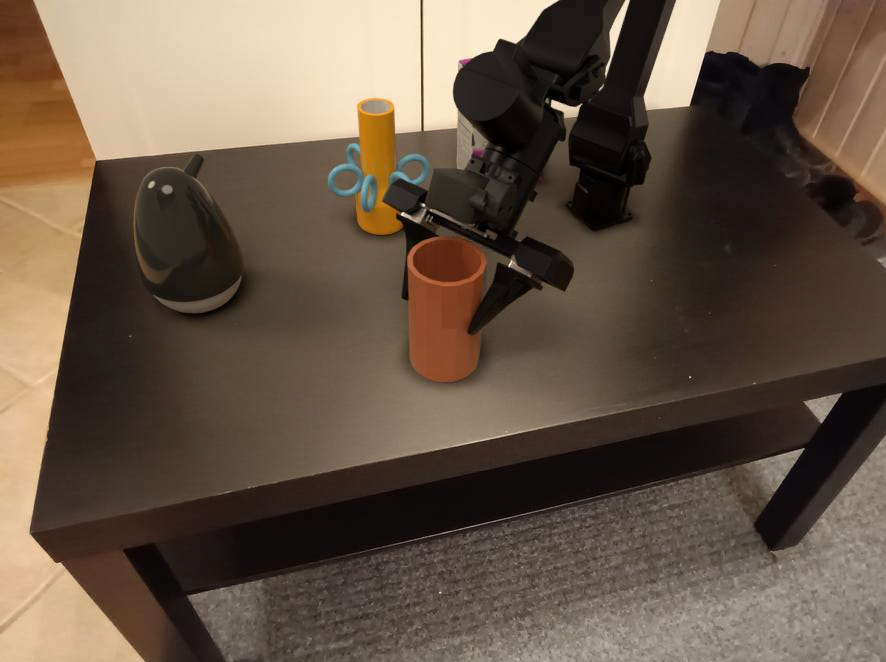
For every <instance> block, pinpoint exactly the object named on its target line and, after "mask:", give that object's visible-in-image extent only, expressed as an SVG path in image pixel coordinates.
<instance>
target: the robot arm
mask: <svg viewBox="0 0 886 662" xmlns="http://www.w3.org/2000/svg"><path fill="white" fill-rule="evenodd" d="M625 2H626V0H556V1H555V2H554V3H552V4H550V5H549V6H547V7H545V8H544V9H542V10H541V12H540V14H539V15H538V16H537V18H536V20H535V21H534V23H533V24H532V25H531V27H530V29H529V30H528V32H527V33H526V34H525V36H523V37H522V38H521V39H519V41H517V42H516V43H515V42H512V41H510V40H506V39H503V38H501V37H500V38H498V39H497V42H496V44H495V46H494V48H493V50H490V51H486V52H481V53H479V54H478V55H475V56H474V57H471V58H472V59H471V60H470V61H469V62H467V64H466V65H465V66H464V67H463V68H461V69H460V70H459V71H458V70H457V73H456V75H455V78H454V81H453V86H452V98H453V102H454V104H455V107H456V109H457V111H458V110H459V111H460V113H461V114H462V115H463V116H464V117H465V118H466V119H467V120H468V121H469V122H470V123H471V124H472V126H473V127H474V128H475V129H476V130H477V131H478V132H479V133H480V134H481V135H482V136H483V137H484V138H485V139H486V140H487V141H488V143H487V145H486V147H485V149H484V151H483V153H482V155H481V157H479V156H477V155H473V157H472V158H471V159H470V160H469V162H468V164H467V166H466V167H465V169H464V170H461V169H457V167H454V168H453V167H434V168H433V171H432V175H431V178H430V183H429V185H428V189H425V188H423V187H421V186H420V185H418V186H417V185H415V184H412V183H410V182H408V181H406V180H404V179H401V178H399V179H398V180H396V181H395V182H393V183H392V184H390V185H389V186H388V188H387V190H386V192H385V194H384V197H383V199H382V202H384V203H385V204H387V205H389V206H390V207H392V208H394V209H395V210H397V211H399V212H400V213H401V215H400V214H398V213H396V219H397V220H399V221H400V222H402V225H403V228H402V229H403V231H404V235H405V261H404V269H403V279H402V287H401V288H402V289H401V299H402V300H404V301H407V302H408V270H407V256H408V255H409V253H410V251H411V249H412V248H413V247H414V246H415V245H417V244H418V243H420V242H421V241H423V240H426V239H430V238H433V237H441V236H440V235H439V234H437V232H438V230H439V228H440V227H442V228H444V229H446V230H448V231H450V232H452V233H455V234H456V235H458V236H461V237H463V238H464V239H466V240H468V241H470V242H472V243H474V244H477V245H480V246H482V247H484V248H486V249H488V250H490V251H492V252H494V253H496V254H498V255H500V256H502V257H505V258H507V259H509V263H508V265H506V264H504V263H502V262H500V261H497V262H496V266H495V270H494V271H495V272H494V275H493V280H492V282H491V284H490V286H489V287H488V289H487V290H486V293H485V294H484V298H483V300H482V302H481V304H480V305H479V307H478V309H477V311H476V312H475V314H474V316H473V318H472V320H471V323H470V325H469V328H468V330H467V333H468V334H470V335H472V336H473V335H475V334H476V333H477V332H479V331H480V330H481V329H482V330H483V328H484V327H486V326H487V325H488V324H489V323H490V322H491V321H493V319H495V318H496V317H497V316H498V315H499V314H500V313H502V311H504V310H505V309H506V308H507V307H508V306H510V305H511V304H513V303H514V302H515V301H517V300H518V299H520V298H521V297H523V296H524V295H525V294H527V293H528V292H530V291H531V290H532V289H535V290H536V291H539V292H542V291H543V289H544V285H542V283H545V284H547V285H549V286H551V287H553V288H555V289H557V290H559V291H562V292H564V293H566V292H567V289H568V288H569V285H570V283H571V281H572V279H573V277H574V273H575V266H574V262H573V261H572V259H570V257H568V256H567V255H566V254H564V253H563V252H562V251H561V250H560V249H558V248H556V247H553V246H551V245H548V244H546V243H544V242H542V241H541V240H540V241H539V240H538V239H535V238H533V237H531V236H529V235H526V236H524V237H523V238H522V240H520V241H519V240H517V239H516V238H517V236H518V234H519V232H518V231H517V230H516V229H515V228H516V227H517V225H518V222H519V220H520V218H521V216H522V215H523V212H524V210H525V208H526V207H527V204H528V202H530V203H532V204H533V203H534V202H535V200H536V198H537V196H538V193H539V192H538V191H536V189H535V188H536V186H537V184H538V183H539V181H540V180H539V178H540V176H541V174H542V172H543V173H544V170H545V168H546V166H547V164H548V161H549V160H550V158H551V156H552V154H553V152H554V150H555V148H556V146H557V144H558V142H561V143H563V142H565V140H566V139H567V127H566V124H565V112H564V111H563V110H561V109H557V108H555V107H553V106H552V105H551V106H550V105H549V104H548V103H546V102H545V101H546V98H548V99H551V100H552V101H554V102H557V103H559V104H563V105H564V106H568V107H572V108H578V112H577V116H576V120H575V122H574V123H573V125H572V127H571V129H570V131H569V135H568V140H567V141H568V142H567V143H568V145H567V146H568V166H571V167H573V168H574V167H575V168H577V169H579V171H578V172H579V173H578V176H577V177H578V178H577V181H576V182H575V183H574V188H573V193H572V194H573V195H572V199H568V200H566V201H565V207H566V208H567V209H568V210H570V212H572V213H573V214H574V215H575V216H576V217H577V218H578V219H580V220H581V222H583V223H584V224H585V225H586V226H587V227H588V228H589V229H590V230H592V231H598V230H602V229H604V228H608V227H610V226H614V225H618V224H620V223H624V222H626V221H627V222H628V221H629V220H632V219H634V214H633V213H632V212H631V211H630V210H629V209H628V208H627V204H628V202H629V196H630V193H631V189H632V188H633V187H634V186H635V187H636V186H642V185H644V183H645V180H646V176H647V172H648V171H649V169H650V164H651V161H652V159H653V158H652V155H651V152H650V150H649V148H648V145H647V143H646V141H645V139H646V137H647V133H648V130H649V125H650V121H649V116H648V111H647V107H646V102H645V101H646V100H645V94H646V91H647V88H648V85H649V82H650V79H651V76H652V74H653V70H654V67H655V64H656V62H657V58H658V56H659V53H660V50H661V47H662V45H663V41H664V39H665V35H666V32H667V29H668V27H669V23H670V20H671V17H672V14H673V11H674V9H675V6H676V2H677V0H629V1H628V4H627V7H626V11H625V14H624V17H623V21H622V23H621V26H620V30H619V33H618V37H617V40H616V43H615V46H614V49H613V52H611V36H610V35H611V33H610V32H611V30H612V28H613V25H614V23H615V21H616V20H617V17H618V15H619V14H620V12H621V9H622V8H623V6H624V4H625ZM611 53H612V54H611ZM611 55H612V56H611ZM609 62H610V63H609ZM608 64H609V65H608ZM607 66H608V68H607ZM606 71H607V73H606ZM538 180H539V181H538ZM471 225H473V226H471ZM487 231H488V232H490V233H493V234H495V235H496V237H495V239H494V238H491V237H492V236H491V235H490V234H488V233H487Z"/></svg>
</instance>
